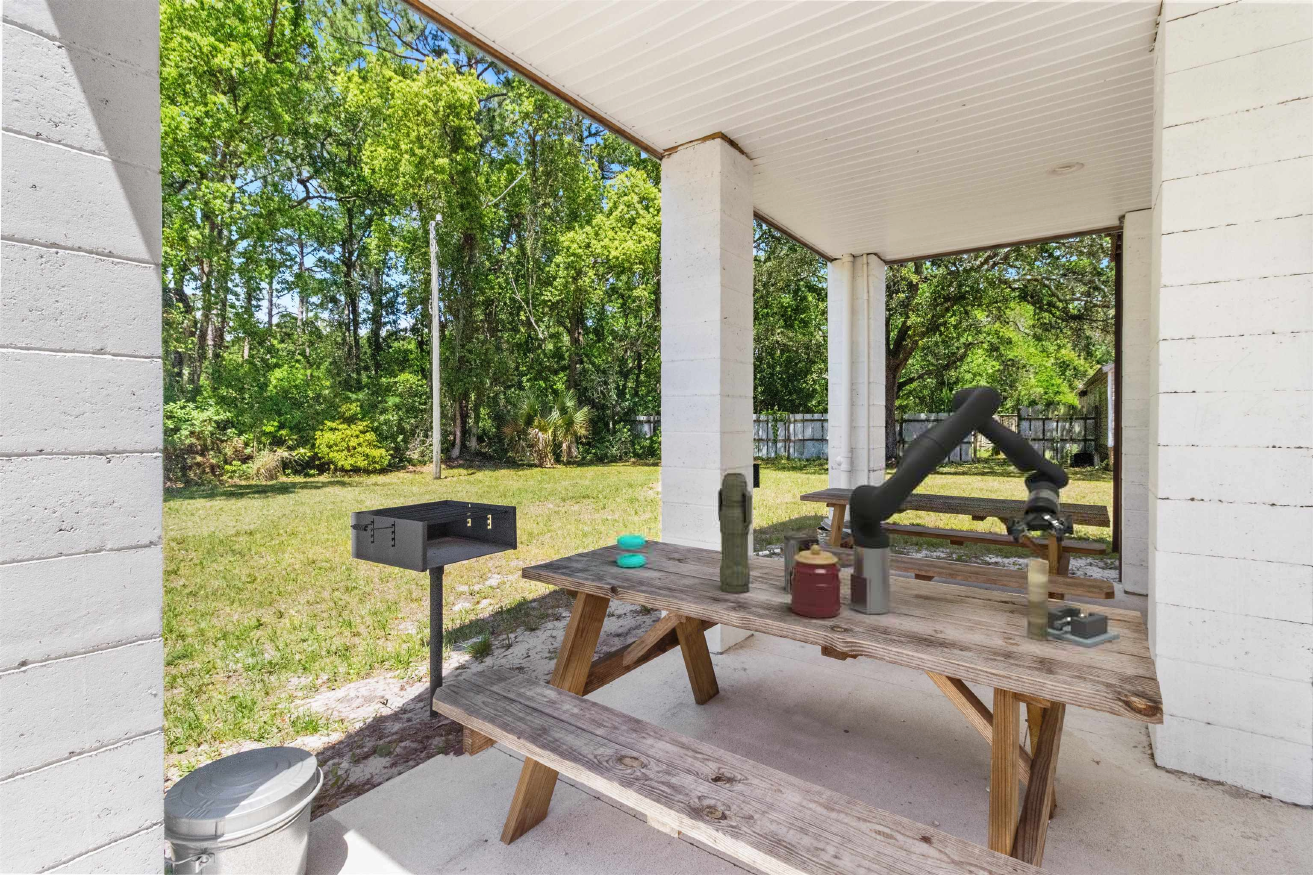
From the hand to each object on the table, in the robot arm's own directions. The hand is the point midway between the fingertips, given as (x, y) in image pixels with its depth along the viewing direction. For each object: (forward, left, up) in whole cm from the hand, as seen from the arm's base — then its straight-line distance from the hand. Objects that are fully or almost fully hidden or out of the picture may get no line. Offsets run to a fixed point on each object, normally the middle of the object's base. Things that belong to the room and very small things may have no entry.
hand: (1037, 540), depth 144 cm
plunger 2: (+7, -8, -19) cm, 21 cm away
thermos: (-47, +60, -21) cm, 80 cm away
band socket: (+3, -8, -21) cm, 23 cm away
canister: (-39, +34, -21) cm, 57 cm away
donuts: (-62, +102, -22) cm, 122 cm away
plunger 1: (-2, -8, -19) cm, 20 cm away
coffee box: (-30, +50, -21) cm, 63 cm away
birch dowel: (-7, -5, -21) cm, 23 cm away
